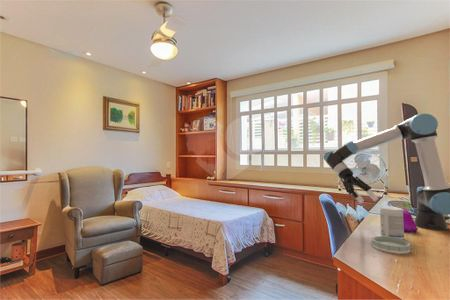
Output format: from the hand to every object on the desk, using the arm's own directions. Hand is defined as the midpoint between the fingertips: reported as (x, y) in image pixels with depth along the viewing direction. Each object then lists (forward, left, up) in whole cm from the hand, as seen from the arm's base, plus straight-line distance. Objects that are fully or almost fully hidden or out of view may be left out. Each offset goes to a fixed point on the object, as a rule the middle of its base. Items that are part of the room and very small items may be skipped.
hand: (369, 201), depth 133 cm
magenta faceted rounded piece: (-22, -2, -17) cm, 28 cm away
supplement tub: (-4, +10, -17) cm, 20 cm away
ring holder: (+8, +23, -17) cm, 29 cm away
